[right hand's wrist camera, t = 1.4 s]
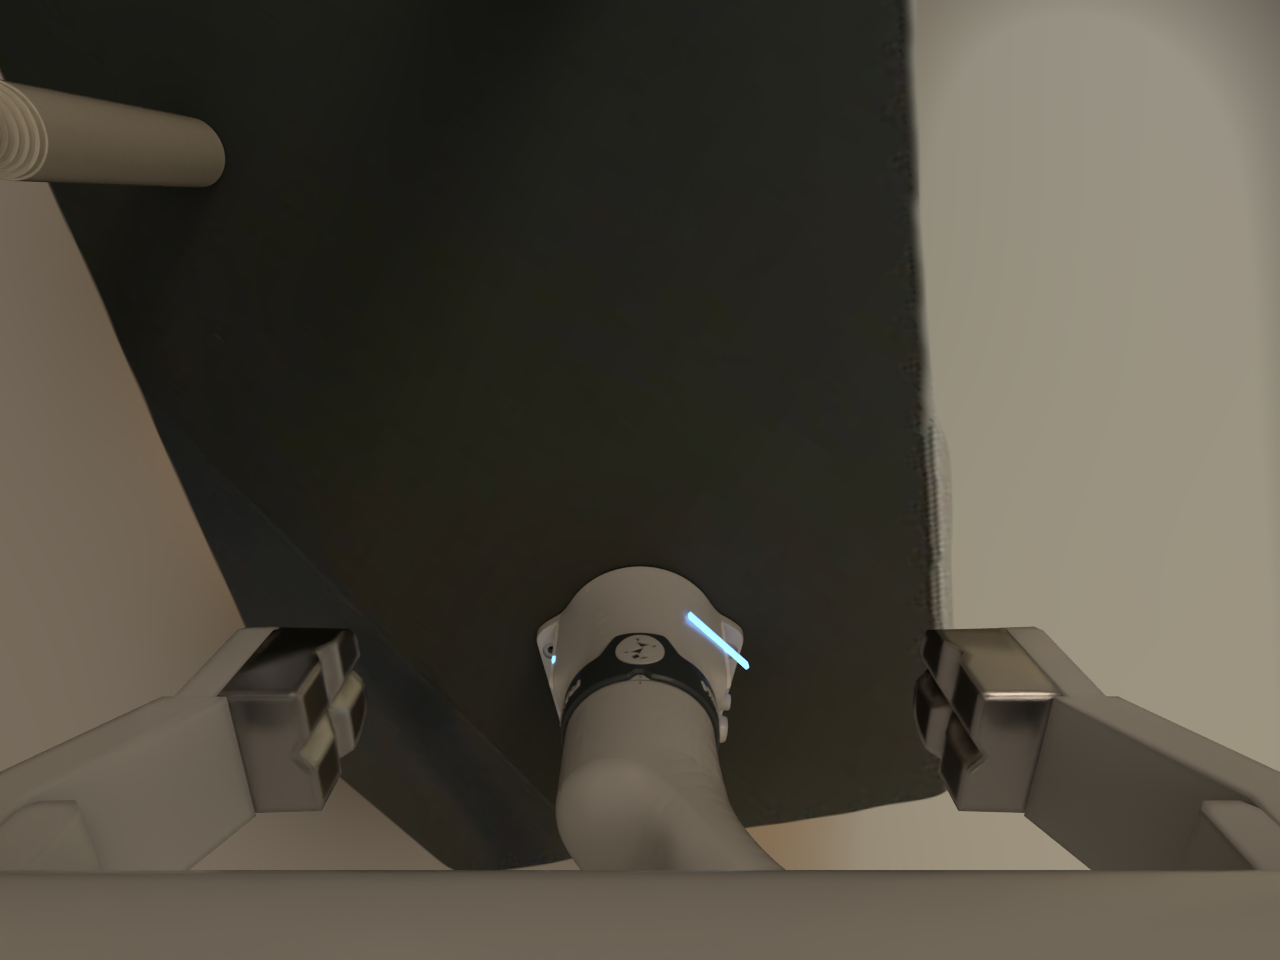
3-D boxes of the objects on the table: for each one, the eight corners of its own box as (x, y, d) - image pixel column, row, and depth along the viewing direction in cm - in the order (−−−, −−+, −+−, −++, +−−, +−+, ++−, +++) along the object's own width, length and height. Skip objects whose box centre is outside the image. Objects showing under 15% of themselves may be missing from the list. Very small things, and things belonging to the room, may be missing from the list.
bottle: (209, 201, 53) (-49, 199, 33) (148, 160, 52) (-156, 132, 32) (236, 144, 52) (-15, 108, 32) (174, 101, 51) (-125, 34, 31)
